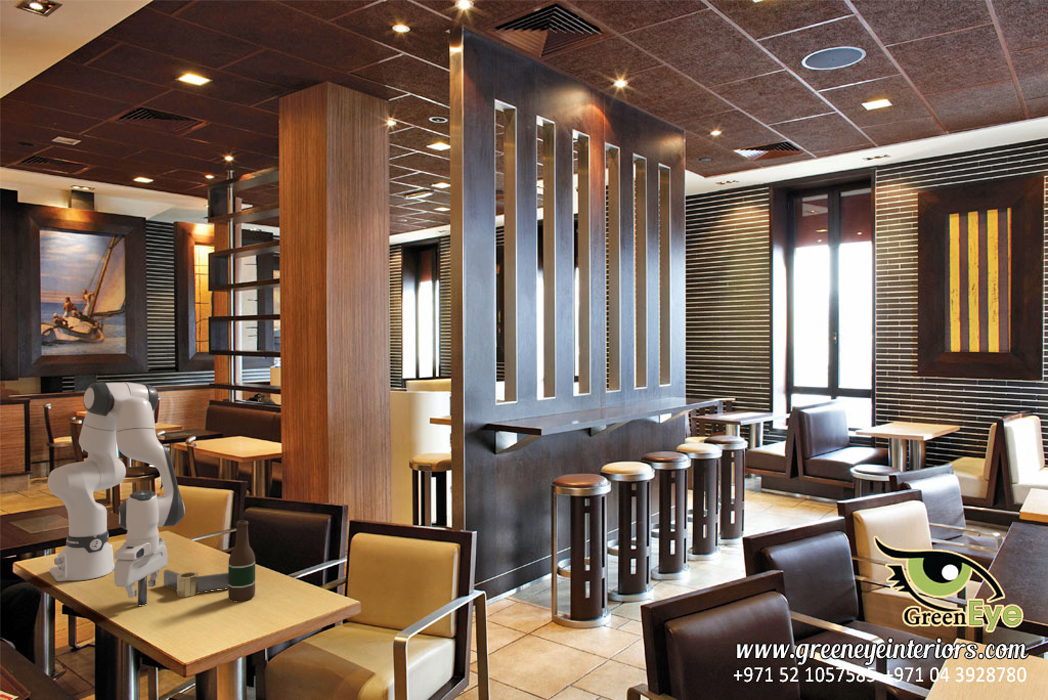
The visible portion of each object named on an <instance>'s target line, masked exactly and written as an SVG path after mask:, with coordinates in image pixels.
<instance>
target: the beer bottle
mask: <svg viewBox="0 0 1048 700" xmlns="http://www.w3.org/2000/svg"><path fill="white" fill-rule="evenodd" d="M249 524H250V523H249V521H248V520H245V519H244V520H242V519H241V520H238V521H237V522H236V523H235V526H236V530H235V544H234V548H233V550H232V551H231V552H230V555H229V557H228V566H227V567H228V568H227V570H228V572H227V573H228V589H227V590H228V592H227V593H228V596H227V597H228V600H229V599H230V600H229V601H231V602H232V603H235V602H234V601H237V602H236V603H243V601H244V602H247V601H251V600H252V599H253V598H254V597H256V596H255V595H256V555H255V552H254V550H253V549H252V547H251V546H250V541H249V528H248V527H249V526H248V525H249Z"/></svg>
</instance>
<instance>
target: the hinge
mask: <svg viewBox="0 0 1048 700" xmlns="http://www.w3.org/2000/svg"><path fill="white" fill-rule="evenodd" d="M164 585H165V586H164ZM163 586H164V587H166V586H168V587H170V588H169V589H171V588H173V589H175V590H174V591H176V590H177V591H176V597H179V598H189V597H188V596H191V597H193V596H192V595H194V596H196V595H198V594H199V593H198V592H203V593H206V592H205V591H211V590H217V589H225V588H228V572H222V573H216V574H215V573H214V574H206V575H205V574H204V575H199V572H196V571H187V572H183V573H178V572H175V571H173V570H170V569H164V570H163ZM168 587H167V588H168ZM173 589H172V590H173ZM211 592H212V591H211ZM197 593H198V594H197Z"/></svg>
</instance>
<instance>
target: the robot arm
mask: <svg viewBox="0 0 1048 700" xmlns="http://www.w3.org/2000/svg"><path fill="white" fill-rule="evenodd" d="M82 401H83V406H84V408H85V410H86V413H85V415H84V419H83V423H82V427H81V430H80V434H79V438H78V444H79V447H80V448H81V449H82V450H83V451H85V452H87V459H85V460H84V461H79V462H78V461H77V462H72V463H67V464H64V465H62V466H59V467H56V468H54V469H53V470H51V472H50V473H49V475H48V478H47V487H48V490H49V492H50V493H52V495H54V496H55V497H57V498H58V499H60V501H62V502H63V504H64V506H65V508H66V511H67V517H68V534H67V538H66V541H65V542H66V543H65V545H66V546H65V547H64V548H63V549H62V550H61V551H60V552H59V553H58V554H57V557H55V558H54V559H53V561H54V565H55V566H53V567H51V568H49V570H48V572H49V573H50V574H51V575H50V576H52V577H53V578H54V580H55V581H56V582H67V581H84V580H85V581H86V580H92V579H95V578H96V579H97V578H100V577H103V576H106V575H109V574H110V573H112V571H113V572H114V575H113V577H114V578H113V579H114V580H113V582H114V584H115V585H116V587H121V588H123V587H124V588H125V590H126V592H127V597H128V598H129V599H132V598H135V597H136V596H138V589H137V590H136V589H135V586H136V585H135V583H136V582H137V583H138V581H139V580H141V579H143V578H144V577H146V576H147V577H149V576H150V578H149V580H147V587H151V588H152V587H153V588H154V586H156V585H157V579H158V577H159V575H160V570H162V569H164V568H166V567H167V565H168V562H169V561H168V558H169V557H168V549H167V546H166V544H165V540H164V539H163V538H162V537H160V530H159V528H158V527H162V528H163V527H175V526H176V525H178V524H179V523H180V522H181V521H182V520H183V518H184V517H185V511H186V508H185V504H184V500H183V498H182V496H181V495H182V494H181V492H180V488H179V485H178V480H177V477H176V472H175V467H174V464H173V460H172V457H171V453H170V451H169V449H168V448H167V446H166V445H164V444H162V443H161V442H160V441H159V439H158V437H157V435H156V434H157V432H156V423H155V422H156V421H155V415H154V411H155V410H156V409H157V407H158V404H159V393H158V390H157V389H156V388H155V386H152V385H150V384H145V383H141V384H140V383H137V382H136V383H134V382H127V381H126V382H125V381H122V382H104V381H103V382H93V383H91V384H89V385H88V386H87V387H86V388H85V390H84V394H83V400H82ZM117 449H118V451H119V452H120V453H121V454H122V455H123V456H125V457H126V458H129V459H131V460H134V461H138V462H142V463H146V464H149V465H150V466H151V465H152V466H154V467H155V468H156V469H157V471H158V472H159V476H160V480H161V481H160V482H161V485H162V489H163V493H164V494H162V495H157V493H156V492H154V491H153V490H145V489H144V490H143V489H142V490H137V491H134V492H131V493H130V494H129V495H128V498H127V499H126V500H124V501H123V502H122V503H121V504H120V505H119V506H118V507H117V509H118V522H117V525H118V526H119V527H121V528H122V529H123V530H127V532H126V534H125V542H124V543H123V544H122V545H121V546H120V547H119V548H118V549H117V550H115V552H114V551H113V545H112V544H111V543H109V535H110V534H109V530H108V528H107V527H108V510H107V508H106V506H104V505H103V504H102V503H98V502H96V500H95V498H94V492H99V491H103V490H109V489H110V488H113V487H115V486H118V485H120V484H122V483H123V481H124V480H125V478H126V475H127V469H126V466H125V463H124V462H123V461H122V460H121V459H120V458H119V456H118V455H117ZM114 560H116V561H115V562H114Z"/></svg>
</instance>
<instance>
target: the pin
mask: <svg viewBox="0 0 1048 700" xmlns="http://www.w3.org/2000/svg"><path fill="white" fill-rule="evenodd" d="M145 604H147V605H148V576H146V577H144V578H143V579H141V580H139V581H137V606H138V605H145ZM145 606H146V605H145Z"/></svg>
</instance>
